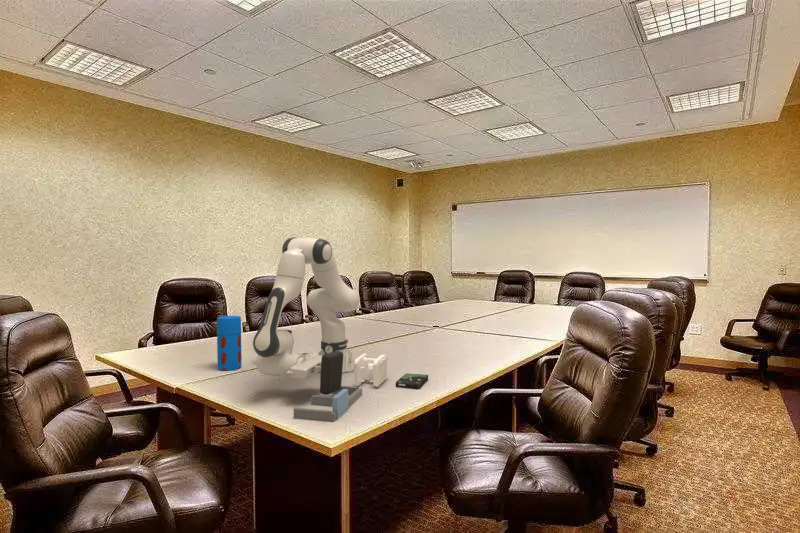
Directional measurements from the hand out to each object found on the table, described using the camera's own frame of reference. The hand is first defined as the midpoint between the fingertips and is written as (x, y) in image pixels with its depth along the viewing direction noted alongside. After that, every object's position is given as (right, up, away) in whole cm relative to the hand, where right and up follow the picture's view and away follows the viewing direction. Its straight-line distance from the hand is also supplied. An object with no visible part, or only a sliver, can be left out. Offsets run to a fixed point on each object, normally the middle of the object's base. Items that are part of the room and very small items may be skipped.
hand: (329, 368), depth 164 cm
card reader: (0, -9, 0) cm, 9 cm away
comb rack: (+1, -12, -7) cm, 14 cm away
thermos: (-56, -11, +46) cm, 73 cm away
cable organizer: (+15, -11, +20) cm, 27 cm away
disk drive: (+32, -12, +20) cm, 40 cm away
